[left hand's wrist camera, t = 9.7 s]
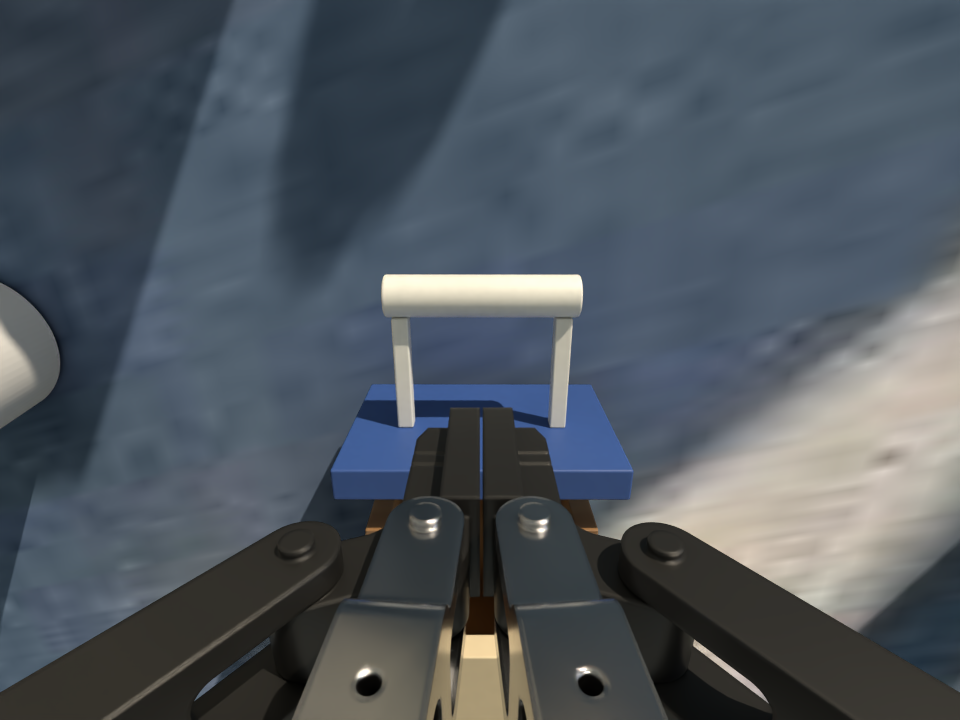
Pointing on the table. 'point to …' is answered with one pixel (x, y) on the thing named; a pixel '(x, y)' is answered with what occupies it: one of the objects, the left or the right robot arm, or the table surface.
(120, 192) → the table surface
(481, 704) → the tan open box
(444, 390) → the drawer
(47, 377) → the coffee cup
